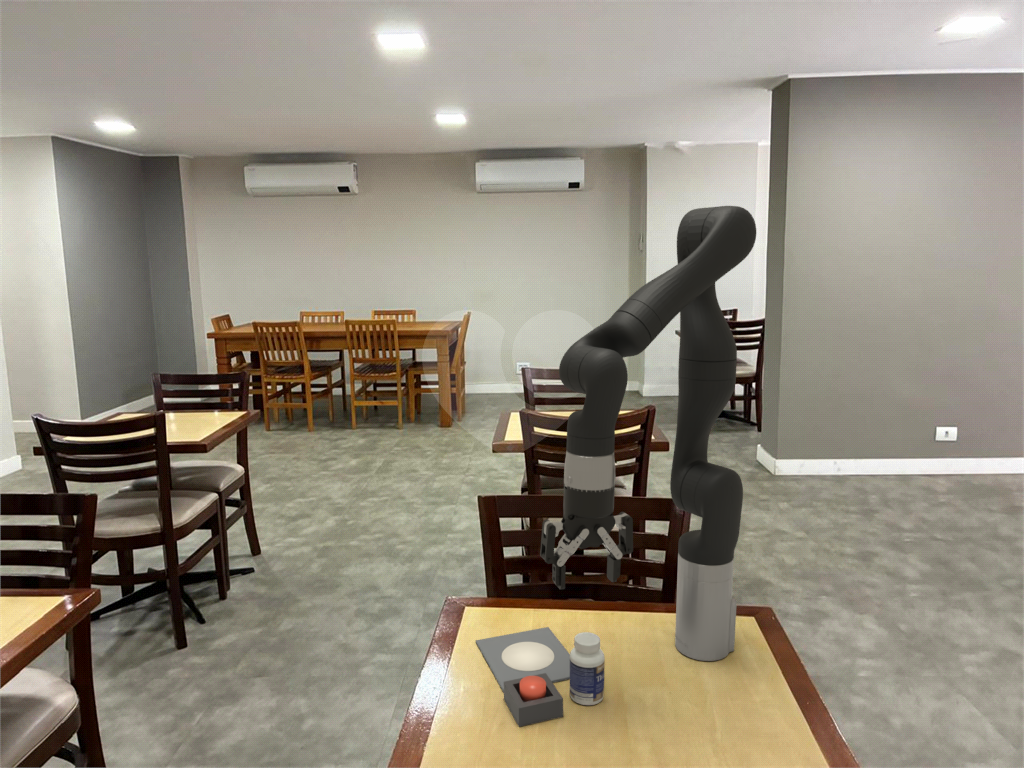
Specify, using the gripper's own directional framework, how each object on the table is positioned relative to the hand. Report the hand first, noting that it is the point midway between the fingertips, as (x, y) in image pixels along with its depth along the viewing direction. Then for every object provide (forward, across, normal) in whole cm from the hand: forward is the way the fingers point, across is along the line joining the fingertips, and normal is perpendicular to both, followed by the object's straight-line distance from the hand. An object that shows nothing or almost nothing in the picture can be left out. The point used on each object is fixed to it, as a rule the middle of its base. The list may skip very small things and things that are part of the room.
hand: (586, 583), depth 107 cm
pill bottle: (+19, -1, 0) cm, 19 cm away
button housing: (+19, +8, 0) cm, 21 cm away
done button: (+17, +8, 0) cm, 19 cm away
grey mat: (+19, +5, -13) cm, 23 cm away
